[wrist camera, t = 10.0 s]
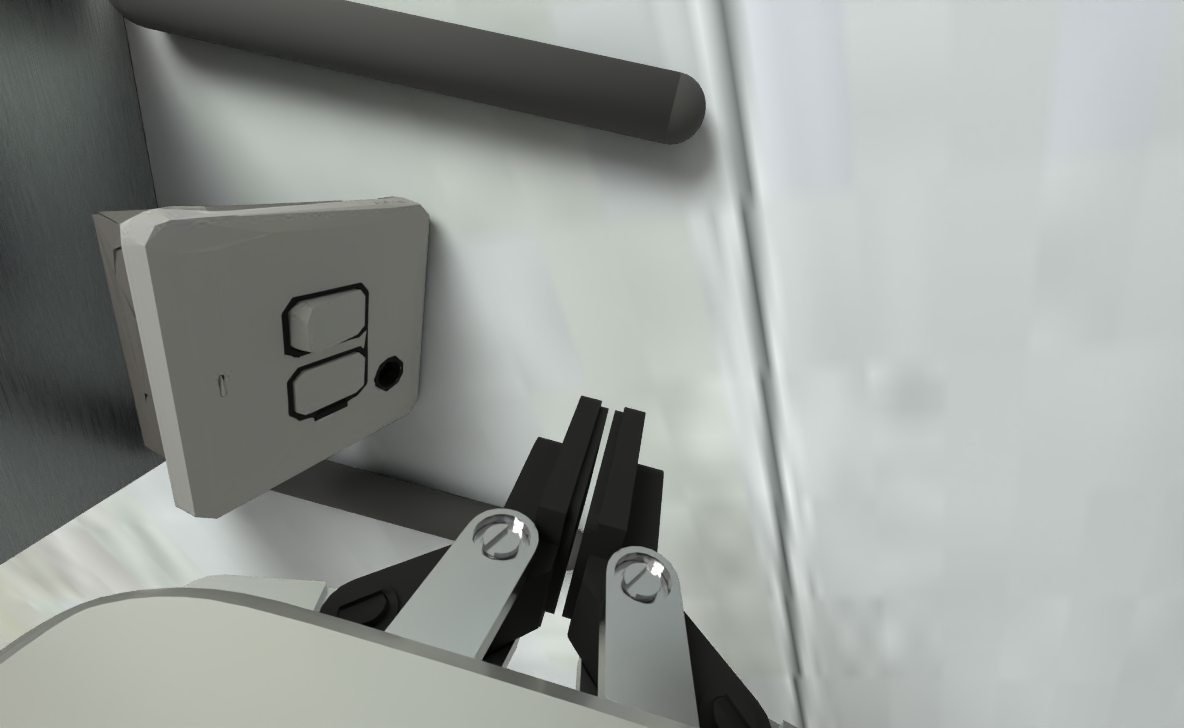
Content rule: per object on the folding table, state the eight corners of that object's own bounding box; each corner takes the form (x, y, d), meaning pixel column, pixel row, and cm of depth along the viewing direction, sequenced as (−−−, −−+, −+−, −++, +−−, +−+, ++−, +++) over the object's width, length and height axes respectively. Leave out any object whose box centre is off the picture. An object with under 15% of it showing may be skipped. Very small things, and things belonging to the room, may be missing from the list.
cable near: (711, 83, 16) (716, 76, 14) (694, 149, 17) (696, 151, 15) (138, -41, 17) (74, -62, 15) (149, 28, 18) (90, 15, 16)
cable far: (594, 523, 24) (587, 554, 22) (586, 552, 25) (579, 584, 23) (213, 420, 25) (177, 442, 23) (218, 452, 26) (184, 475, 24)
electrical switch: (421, 407, 23) (247, 550, 15) (323, 374, 24) (104, 493, 15) (436, 200, 19) (208, 236, 11) (318, 168, 20) (17, 178, 11)
